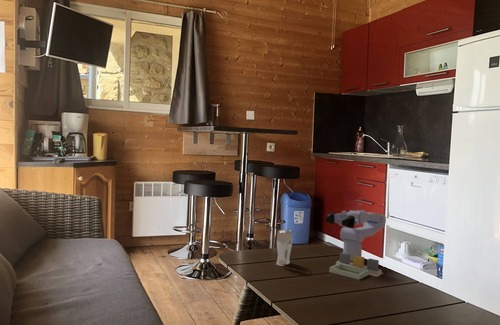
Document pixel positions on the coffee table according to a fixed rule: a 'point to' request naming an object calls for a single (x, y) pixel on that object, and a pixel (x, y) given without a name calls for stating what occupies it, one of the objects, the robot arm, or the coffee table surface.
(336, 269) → the tray
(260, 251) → the coffee table surface
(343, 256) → the block
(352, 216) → the robot arm
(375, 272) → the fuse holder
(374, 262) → the block
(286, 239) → the beer glass
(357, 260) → the block
